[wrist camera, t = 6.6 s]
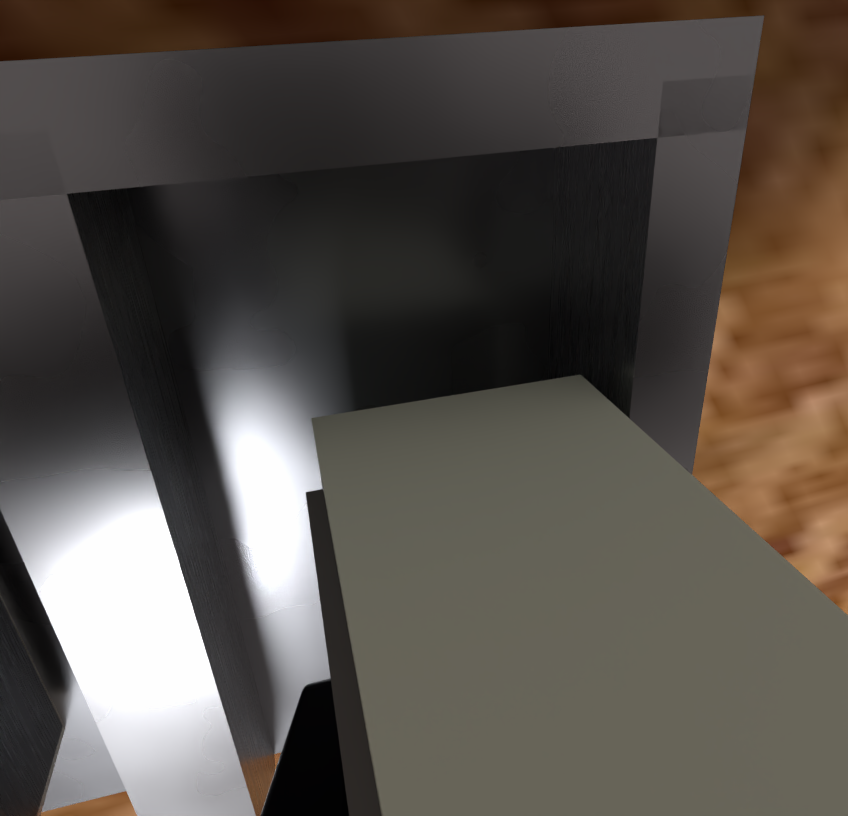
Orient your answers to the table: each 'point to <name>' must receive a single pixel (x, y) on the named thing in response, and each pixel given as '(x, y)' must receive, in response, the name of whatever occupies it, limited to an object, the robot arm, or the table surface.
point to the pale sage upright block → (562, 621)
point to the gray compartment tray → (305, 341)
